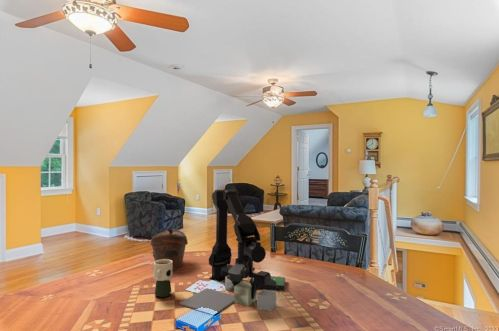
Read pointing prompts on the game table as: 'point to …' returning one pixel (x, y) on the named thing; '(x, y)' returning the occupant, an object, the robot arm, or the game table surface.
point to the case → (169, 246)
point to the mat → (209, 300)
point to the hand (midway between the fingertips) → (245, 296)
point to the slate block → (266, 300)
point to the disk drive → (273, 284)
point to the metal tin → (228, 284)
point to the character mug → (163, 277)
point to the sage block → (243, 293)
